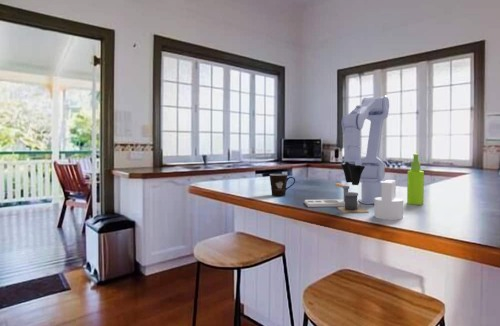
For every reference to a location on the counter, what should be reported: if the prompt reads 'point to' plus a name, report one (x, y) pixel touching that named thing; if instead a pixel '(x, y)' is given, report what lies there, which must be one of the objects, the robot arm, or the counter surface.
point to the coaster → (359, 210)
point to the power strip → (327, 202)
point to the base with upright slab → (388, 202)
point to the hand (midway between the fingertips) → (352, 183)
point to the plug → (351, 200)
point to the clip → (342, 186)
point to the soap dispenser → (415, 183)
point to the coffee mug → (279, 184)
